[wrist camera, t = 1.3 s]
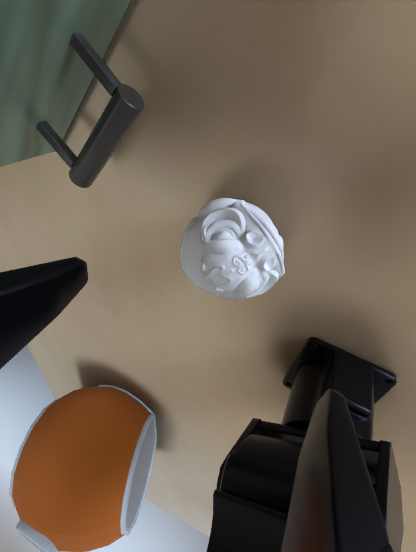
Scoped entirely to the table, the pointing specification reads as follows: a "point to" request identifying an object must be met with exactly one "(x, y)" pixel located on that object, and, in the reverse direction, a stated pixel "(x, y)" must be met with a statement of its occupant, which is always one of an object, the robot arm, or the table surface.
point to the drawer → (60, 81)
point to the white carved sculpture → (232, 250)
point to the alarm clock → (84, 470)
